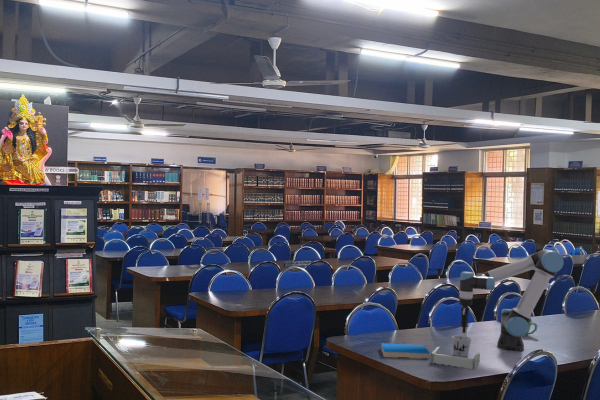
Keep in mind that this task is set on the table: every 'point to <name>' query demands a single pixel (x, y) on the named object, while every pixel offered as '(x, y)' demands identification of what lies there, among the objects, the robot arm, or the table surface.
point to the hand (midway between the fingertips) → (464, 337)
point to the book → (404, 350)
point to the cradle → (454, 360)
